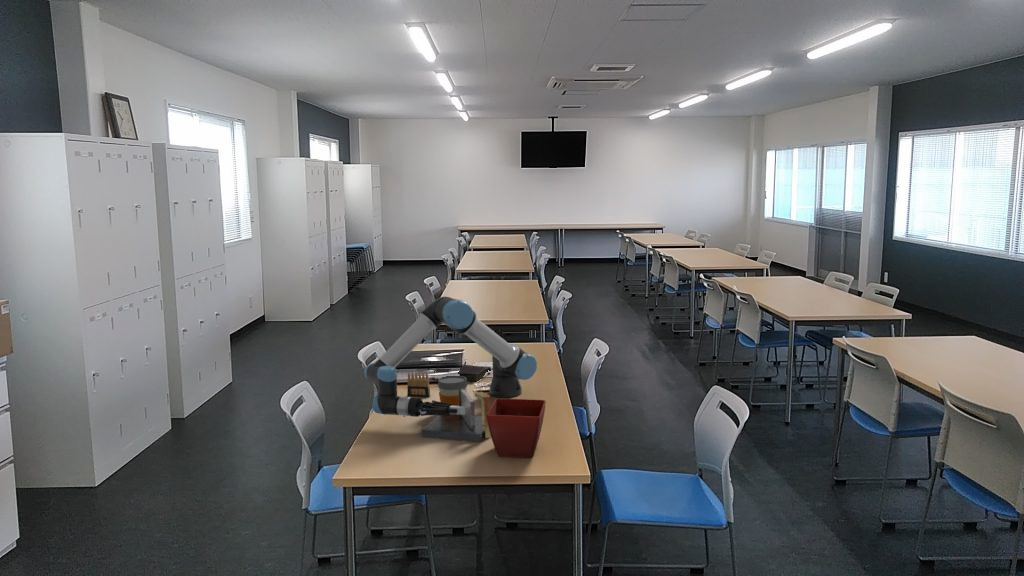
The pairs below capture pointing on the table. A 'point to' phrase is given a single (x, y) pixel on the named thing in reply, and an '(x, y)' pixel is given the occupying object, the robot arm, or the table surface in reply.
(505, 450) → the plant pot
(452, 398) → the reusable coffee cup
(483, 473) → the table surface
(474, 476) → the table surface
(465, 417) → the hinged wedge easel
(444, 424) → the dark grey flat slab
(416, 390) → the ammunition clip
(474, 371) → the diary
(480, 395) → the wooden l-shaped post
